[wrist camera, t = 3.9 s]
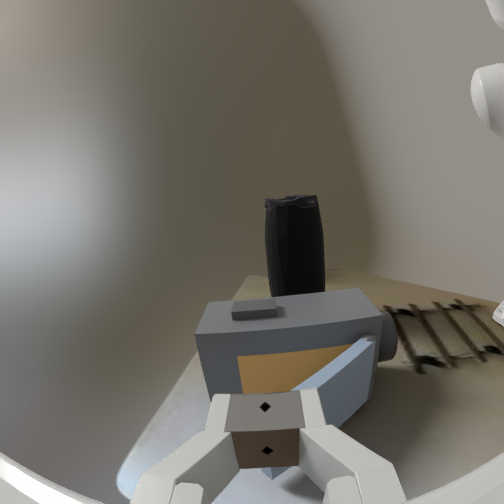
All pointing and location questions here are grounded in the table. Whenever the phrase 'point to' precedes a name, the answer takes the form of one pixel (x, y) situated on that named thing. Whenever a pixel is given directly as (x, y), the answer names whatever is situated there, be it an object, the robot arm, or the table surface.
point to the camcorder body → (286, 339)
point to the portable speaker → (294, 246)
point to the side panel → (341, 386)
